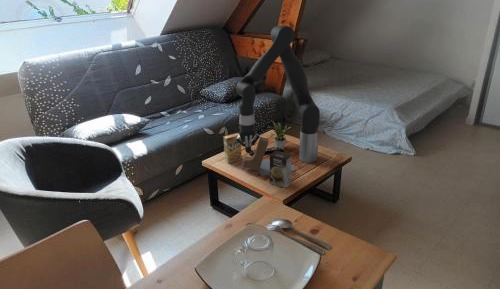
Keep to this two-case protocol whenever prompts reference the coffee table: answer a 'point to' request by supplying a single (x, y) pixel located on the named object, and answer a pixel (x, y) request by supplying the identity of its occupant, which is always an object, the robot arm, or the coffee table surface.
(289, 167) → the coffee box
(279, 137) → the house plant
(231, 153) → the candy box
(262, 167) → the slate rubber mat
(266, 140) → the wooden block
